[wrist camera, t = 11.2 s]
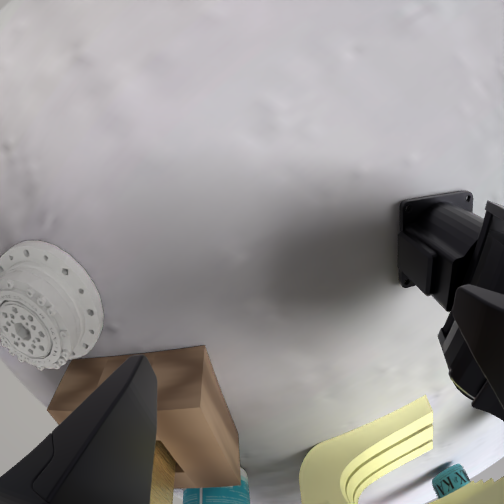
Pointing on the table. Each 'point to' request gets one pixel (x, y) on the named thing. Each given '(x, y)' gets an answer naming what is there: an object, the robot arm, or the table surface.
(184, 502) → the pill bottle
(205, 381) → the slotted wooden block
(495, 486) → the slatted curved stool
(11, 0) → the table surface
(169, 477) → the brushed gold block
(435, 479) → the beverage bottle
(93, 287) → the mechanical component
